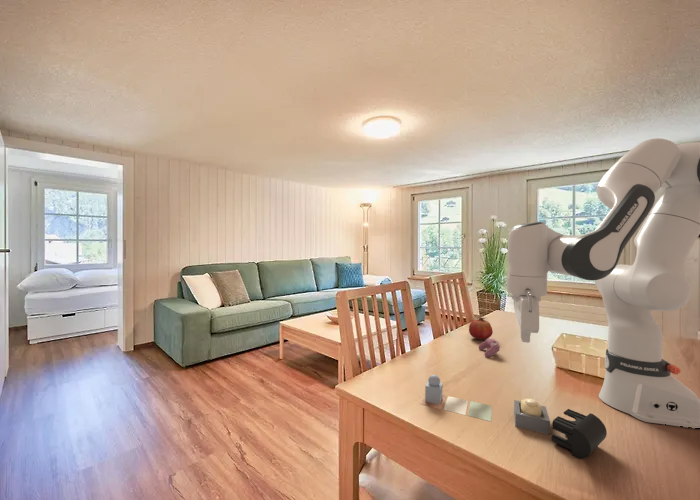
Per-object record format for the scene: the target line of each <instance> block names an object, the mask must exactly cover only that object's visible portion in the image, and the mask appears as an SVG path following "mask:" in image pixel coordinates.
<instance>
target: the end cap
mask: <svg viewBox="0 0 700 500" xmlns="http://www.w3.org/2000/svg"><path fill="white" fill-rule="evenodd" d="M563 415H565V416H567V417H569V418H572V419H574V420H569V419H566V418H564V417H562V416H559V415H557V417H556V418H553V420H552V423H551V429H552V430H555V431H557V432H559V433H561V434H563V435H565V436H566V438H565V437H562V436H560V435H556V434H555V433H551V442H553V443H555V444H557V445H559V446H562V447H563V448H565V449H567V450H569V451H571V456H572V457H574V458H576V459H580V460H581V459H586V458H588V457H589V456H590V455H591V454H592V453H593V452H594V451H595V450H596V449H597V448H598V447H599V445H601V443H602V442H603V441H604V440H605V439H606V438H607V433H608V432H607V428H606V425H605V424H604V422H603V421H602V420H601V419H600V418H599V417H598V416H596V415H595V414H593V413H589V414H587V415H585V414H583V413H580V412H577V411H575V410H572V409H570V408H568V409H566V410H565V411H563Z"/></svg>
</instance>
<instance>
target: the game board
mask: <svg viewBox="0 0 700 500" xmlns="http://www.w3.org/2000/svg"><path fill="white" fill-rule="evenodd" d="M446 396H447V395H446V394H442V400H441V403H440V405H438V404H434V403H430V402H426V401H425V396H424V397H423V399H422V400H421V404H420V405H422V406H425V407H430V408H434V409H439V410H443V411H445V412H450V413H455V414H458V415H459V414H460V415H463V416H468V417H471V418H476V419H480V420H483V421H487V422H492V413H493V412H492V409H493V408H492V405H489V404H485V403H481V402H477V401H472V400H471V401H470V402H469V400H468V399H463V398H460V397H459V398H458V397H455V396H449V395H448V396H447V399H446ZM445 399H446V401H445ZM444 403H445V405H444ZM468 404H469V407H468ZM443 405H444V408H443ZM442 408H443V409H442ZM467 408H468V413H467ZM466 413H467V415H466Z"/></svg>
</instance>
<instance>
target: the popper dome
mask: <svg viewBox="0 0 700 500" xmlns="http://www.w3.org/2000/svg"><path fill="white" fill-rule="evenodd" d="M542 406H543V405H542V404H541V403H540V402H538V401H537V400H536V399H534V398H524V399H521V413H525V414H529V415H534V416H538V417H541V415H542Z"/></svg>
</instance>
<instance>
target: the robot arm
mask: <svg viewBox="0 0 700 500" xmlns="http://www.w3.org/2000/svg"><path fill="white" fill-rule="evenodd" d="M661 188H664V192H663V194H662V195H661V196H660V197H659V199H658V200H657V201H656V200H655V199H656V193H657V192H658V190H660V189H661ZM596 194H597V197H598V200H599V201H600V202H601V203H602V204H603V205H605V207H607V208H608V209H610V210H609V212H608V213H607V215H606V216H605V217H604V218H603V220H602V221H601V223H599V225H598V226H597V227H596V229H594V230H593V231H590V232H588V233H585V234H580V235H565V234H564V233H561V232H558V231H555V230H553V229H552V228H550V227H549V226H547V225H546V223H545V222H543V221H534V222H527V223H520V224H517V225H515V226H513V227H512V228H511V229H510V231H509V234H508V235H509V236H508V239H507V240H508V241H507V255H506V256H507V257H506V258H507V261H508V269H507V272H506V292H507V293H508V294H511V299H512V300H513V306H514V307H513V308H514V313H515V315H516V319H517V322H518V326H519V329H520V339H521V342H523V343H527V344H528V343H530V342H531V334H538V333H539V331H540V305H539V304H540V302H541V300H542V297H544V296H547V295H548V272H551V273H555V274H560V275H565V276H570V277H575V278H578V279H582V280H585V281H594V286H595V287H596V289H597V290H598V292H599V293H600V295H601V298H602V301H603V306H604V309H605V314H606V319H607V326H608V327H607V329H608V330H607V331H608V332H607V348H606V349H605V355H604V368H605V374H604V378H603V379H604V380H603V382H602V383H603V384H602V386H601V389H600V391H599V393H598V398H599V399H600V400H601V401H602V402H603V403H604V404H606V405H608V406H610V407H612V408H614V409H616V410H619V411H621V412H623V413H626V414H628V415H631V416H632V417H633V418H636V419H638V420H640V421H642V422H646V423H653V424H659V425H660V424H661V425H665V424H666V425H667V426H674V427H680V426H683V427H682V428H688V427H692V428H691V429H695V428H700V397H698V395H697V394H696V393H695V392H694V391H692V390H691V389H690V388H689V387H687V386H686V385H685V384H684V383H682V382H681V381H680V380H679V379H677V378H676V377H674V376H673V375H679V374H681V372H682V371H681V369H680V368H679V367H678V366H677V365H675V364H672V363H670V362H668V361H667V360H665V359H663V357H662V356H663V339H664V333H663V330H662V328H661V327H660V325H659V324H658V322H657V321H656V320H655V317H654V315H653V313H652V311H658V312H659V311H661V312H663V311H664V312H666V311H667V312H669V311H670V312H671V311H676V310H679V309H682V308H684V307H685V306H686V305H687V304H688V303H689V301H690V299H691V298H692V286H691V285H690V282H689V281H688V280H687V278H686V272H685V271H686V263H687V260H688V256H689V254H690V251H692V248H693V246H694V245H695V243H696V241H697V240H698V238H699V236H700V141H695V142H694V141H692V142H683V143H678V144H676V143H675V142H674V141H671V140H668V139H665V138H659V137H658V138H650V139H645V140H643V141H642V142H640V143H638V144H637V145H635V146H634V147H632V148H631V149H630V150H629V151H627V152H626V153H625V154H623V155H622V156H621V157H620V158H619V159H618V160H617V161H616V162H615V163H614V164H613V165H612V166H611V167H610V168H609V169H608V170H607V171H606V173H605V174H604V175H603V176H602V177H601V179H600V180H599V182H598V184H597V186H596ZM655 201H656V202H655ZM640 226H641V227H640ZM639 227H640V228H639ZM638 229H639V230H638ZM637 230H638V232H637ZM636 233H637V234H636ZM635 234H636V236H634V235H635ZM633 236H634V241H633V242H634V246H635V247H636V254H635V258H634V262H633V264H632V265H631V264H618V263H619V262H620V261H619V260H620V257H621V255H622V253H623V251H624V249H625V248H626V246H627V244H628V243H629V241H630V240H631V238H632V237H633ZM672 374H673V375H672Z"/></svg>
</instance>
